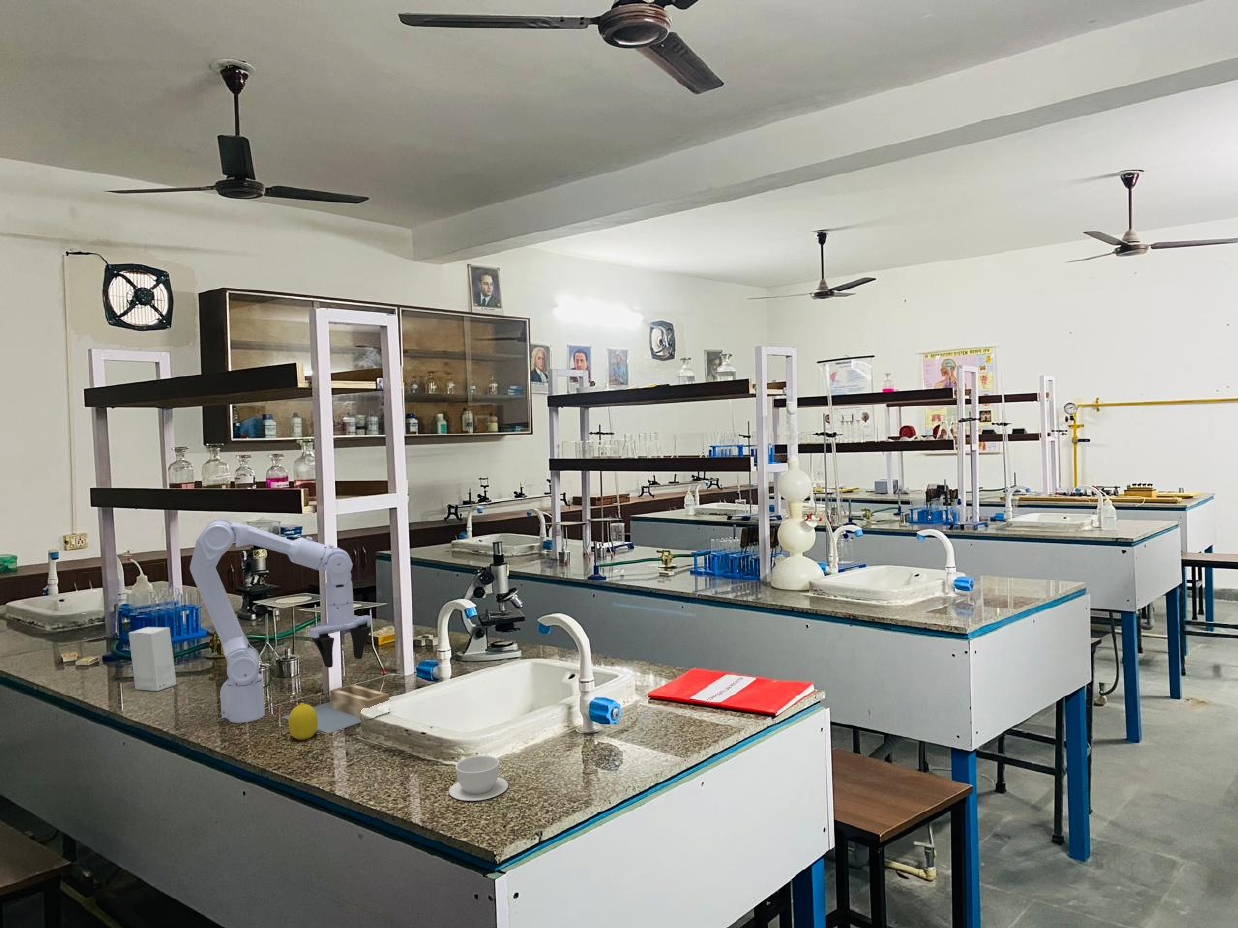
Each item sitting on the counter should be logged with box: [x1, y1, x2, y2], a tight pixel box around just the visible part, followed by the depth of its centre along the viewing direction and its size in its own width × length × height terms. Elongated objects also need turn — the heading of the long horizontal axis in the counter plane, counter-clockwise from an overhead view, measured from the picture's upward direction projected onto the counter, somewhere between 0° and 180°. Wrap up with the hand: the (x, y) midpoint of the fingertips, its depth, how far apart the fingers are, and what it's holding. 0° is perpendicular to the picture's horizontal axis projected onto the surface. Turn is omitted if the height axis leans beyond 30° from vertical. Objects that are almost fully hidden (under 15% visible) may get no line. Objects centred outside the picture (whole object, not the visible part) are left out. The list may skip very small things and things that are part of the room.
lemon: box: [288, 702, 318, 741], centre depth 173 cm, size 6×6×8 cm
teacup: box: [448, 755, 509, 802], centre depth 147 cm, size 10×10×5 cm
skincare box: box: [128, 626, 177, 692], centre depth 217 cm, size 8×6×15 cm
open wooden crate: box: [329, 683, 390, 717], centre depth 189 cm, size 14×5×4 cm, turn 51°
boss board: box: [281, 701, 362, 734], centre depth 187 cm, size 18×16×4 cm
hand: (343, 662), depth 195 cm, fingers open, 7 cm apart
